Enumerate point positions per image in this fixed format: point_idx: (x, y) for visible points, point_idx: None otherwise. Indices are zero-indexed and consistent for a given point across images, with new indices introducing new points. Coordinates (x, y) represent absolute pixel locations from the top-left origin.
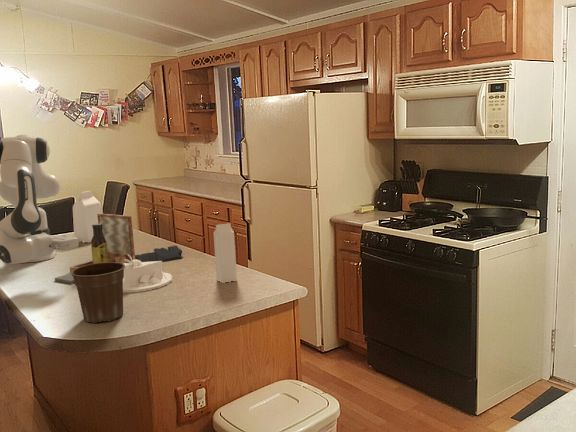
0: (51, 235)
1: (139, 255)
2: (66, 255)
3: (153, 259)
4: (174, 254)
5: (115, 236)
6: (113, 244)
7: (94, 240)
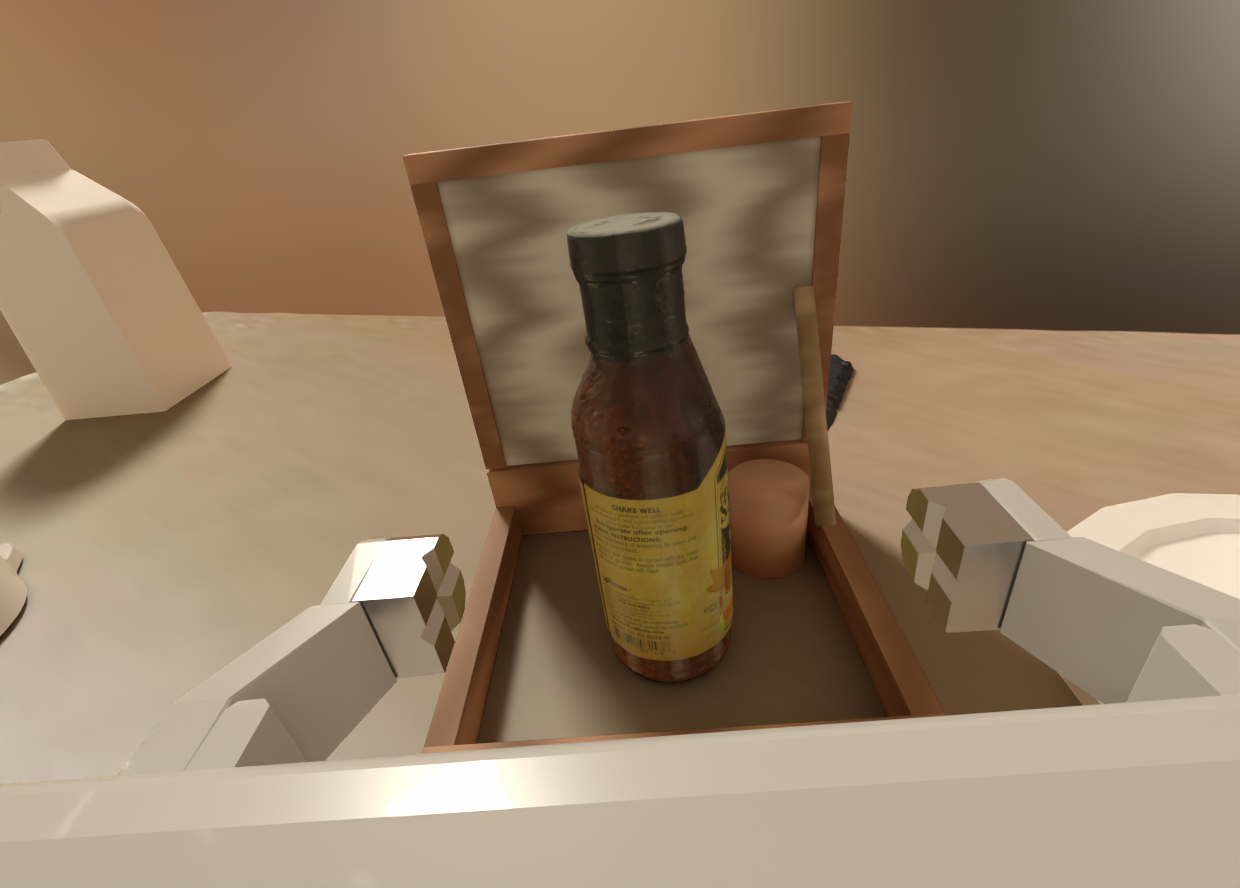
0: (61, 859)
1: None
2: (118, 544)
3: None
4: None
5: None
6: None
7: (668, 422)
